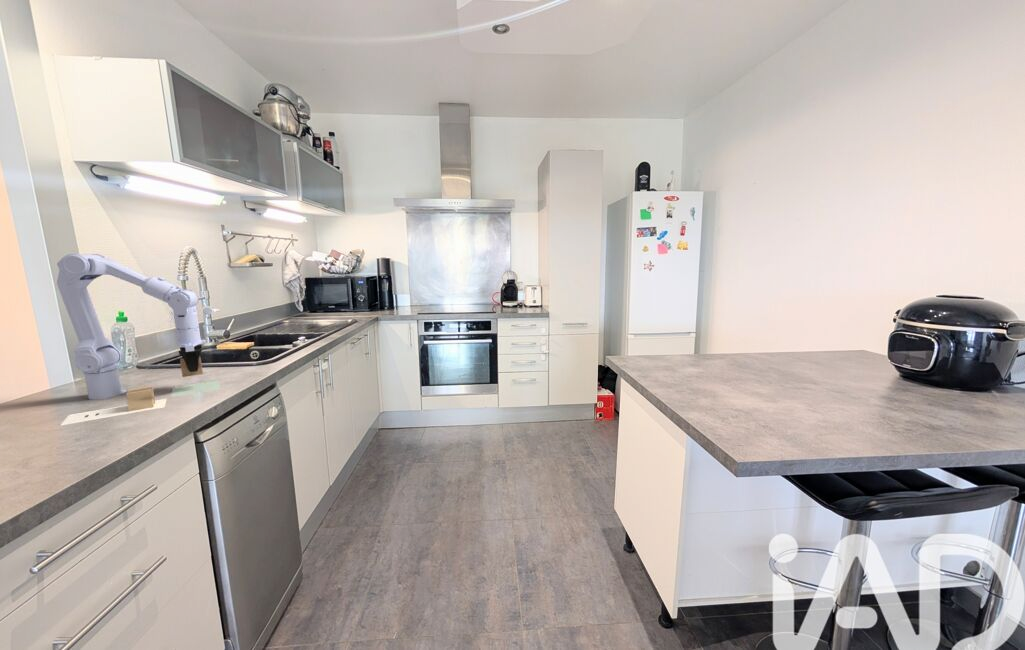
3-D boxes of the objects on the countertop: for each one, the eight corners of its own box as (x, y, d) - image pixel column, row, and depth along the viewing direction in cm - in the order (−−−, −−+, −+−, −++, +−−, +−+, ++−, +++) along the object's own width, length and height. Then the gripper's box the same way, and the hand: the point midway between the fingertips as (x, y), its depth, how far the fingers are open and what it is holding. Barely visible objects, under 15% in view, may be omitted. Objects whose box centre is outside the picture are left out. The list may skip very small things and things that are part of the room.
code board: (69, 416, 106) (69, 414, 106) (166, 400, 118) (166, 398, 118) (60, 427, 99) (59, 425, 99) (164, 409, 111) (164, 406, 111)
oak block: (131, 406, 112) (128, 389, 111) (154, 402, 115) (152, 385, 114) (129, 411, 108) (126, 394, 107) (153, 407, 111) (150, 390, 110)
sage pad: (173, 389, 128) (173, 387, 128) (218, 382, 136) (218, 380, 136) (171, 399, 119) (171, 397, 119) (220, 391, 127) (219, 389, 126)
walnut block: (183, 373, 127) (180, 358, 126) (202, 370, 130) (200, 356, 129) (182, 377, 123) (180, 361, 122) (202, 374, 126) (200, 359, 125)
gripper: (203, 329, 121) (209, 372, 123) (203, 323, 132) (208, 362, 134) (173, 332, 117) (180, 376, 119) (176, 326, 128) (182, 366, 130)
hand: (193, 369), depth 126 cm, fingers closed on walnut block, 5 cm apart
